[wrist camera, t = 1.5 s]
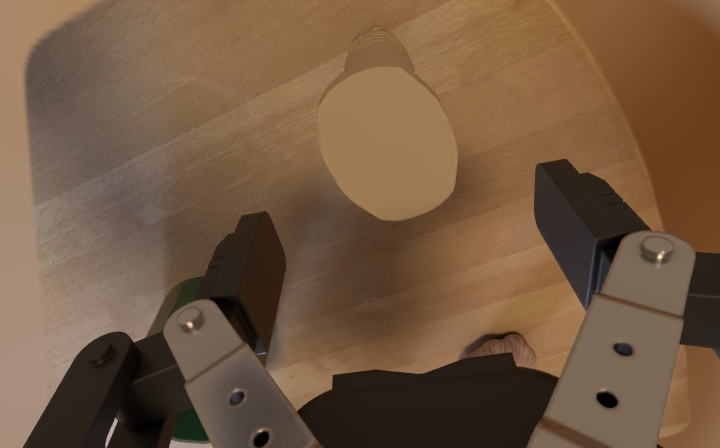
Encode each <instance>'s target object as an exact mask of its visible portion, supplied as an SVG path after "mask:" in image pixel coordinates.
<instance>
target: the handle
mask: <svg viewBox="0 0 720 448" xmlns="http://www.w3.org/2000/svg"><path fill="white" fill-rule="evenodd" d="M317 116H318V131H319V141H320V148H321V152H322V156H323V159H324V161H325V163H326V165H327V167H328V169H329V170H330V172H331V174H332V175H333V177H334V179H335V180H336V182H337V183H338V185H339V187H340V188H341V189H342V191H343V192H344V193H345V195H346V196H347V197H348V198H349V199H351V200H352V201H353V202H354V203H355V204H357V205H358V206H360V207H362V208H363V209H365V210H366V211H368V212H369V213H371V214H372V215H374V216H376V217H377V218H379V219H380V220H388V221H399V220H405V219H410V218H413V217H416V216H419V215H422V214H424V213H426V212H428V211H430V210H432V209H434V208H435V207H437V206H438V205H440V204H441V203H443V202H444V201H445V200H446V199H447V198H448V197H449V196H450V194H451V193H452V192H453V191H454V188H455V181H456V174H457V165H458V147H457V143H456V139H455V136H454V133H453V131H452V128H451V126H450V123H449V121H448V119H447V116H446V114H445V111H444V109H443V106H442V104H441V102H440V100H439V98H438V96H437V94H436V93H435V92H434V91H433V90H432V89H431V88H430V87H429V86H428V85H427V84H426V83H425V82H424V81H423V80H422V79H421V78H420V77H418V76H417V75H416V74H415V72H414V67H413V64H412V61H411V59H410V57H409V55H408V53H407V51H406V49H405V47H404V46H403V44H402V43H401V42H400V41H399V40H398V39H397V37H395V36H394V35H393V34H391V33H389V32H387V31H383V30H382V29H381V27H380V26H373V27H372V28H371V29H370V30H369V31H368V32H365V33H364V34H358V35H357V36H356V37H355V39H354V41H353V44H352V46H351V48H350V50H349V52H348V55H347V58H346V63H345V71H344V72H343V73H342V74H340V75H339V76H338V77H337V78H336V79H335V80H333V81H332V82H331V83H330V84H329V86H328V87H327V89H326V90H325V92H324V93H323V95H322V97H321V99H320V101H319V104H318V108H317Z"/></svg>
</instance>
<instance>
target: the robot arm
mask: <svg viewBox="0 0 720 448" xmlns="http://www.w3.org/2000/svg"><path fill="white" fill-rule="evenodd" d="M534 215H535V221H536V224H537V227H538V229H539V231H540V233H541V235H542V236H543V238H544V240H545V241H546V243H547V245H548V247H549V248H550V250H551V252H552V254H553V255H554V257H555V259H556V260H557V262H558V264H559V266H560V267H561V269H562V271H563V272H564V274H565V276H566V278H567V279H568V281H569V283H570V285H571V286H572V288H573V290H574V291H575V293H576V295H577V297H578V298H579V300H580V302H581V304H582V305H583V307H584V309H585V310H586V311H587V313H586V315H585V318H584V320H583V322H582V325H581V327H580V330H579V332H578V334H577V337H576V339H575V342H574V344H573V346H572V349H571V351H570V354H569V356H568V358H567V361H566V363H565V366H564V368H563V370H562V373H561V375H560V378H558V377H556V376H553V375H551V374H549V373H546V372H543V371H540V370H536V369H532V368H527V367H521V366H516V363H515V360H514V357H513V355H512V352H508V353H500V354H492V355H485V356H477V357H469V358H464V359H462V360H459V361H456V362H454V363H451V364H448V365H446V366H443V367H440V368H438V369H435V370H432V371H429V372H427V373H423V374H413V373H403V372H394V371H384V370H368V371H361V372H353V373H345V374H337V375H333V384H332V390H329V391H327V392H325V393H323V394H321V395H319V396H317V397H315V398H314V399H312V400H311V401H309V402H308V403H307V404H305V405H304V406H303V407H302V408H300V409H299V410H298V411H297V412H296V410H295V409H294V407H293V406H292V405H291V403H290V402H289V400H288V399H287V398H286V396H285V395H284V394H283V392H282V391H281V389H280V388H279V387H278V385H277V384H276V382H275V381H274V380H273V378H272V377H271V376H270V374H269V373H268V371H267V370H266V369H265V367H264V366H263V365H262V363H261V362H260V360H259V359H258V358H257V356H256V355H260V354H268V352H269V347H270V342H271V337H272V333H273V328H274V323H275V318H276V313H277V308H278V304H279V299H280V294H281V289H282V284H283V280H284V275H285V270H286V259H285V254H284V250H283V247H282V245H281V242H280V240H279V237H278V235H277V232H276V230H275V227H274V225H273V222H272V220H271V217H270V215H269V214H268V213H267V212H266V211H264V212H259V213H253V214H248V215H243V216H241V218H240V220H239V223H238V225H237V228H236V230H235V233H231V234H228V235H227V236H226V237H225V238H224V239H223V240H222V241H221V242H220V243H219V244H218V245H217V248H216V250H215V252H214V255H213V257H212V258H213V260H211V262H210V264H209V266H208V270H207V271H206V273H205V275H204V278H203V280H202V282H201V285H200V287H199V289H198V292H197V294H196V296H195V299H194V301H192V302H190V303H187V304H185V305H183V306H182V307H180V308H179V309H177V310H176V311H175V312H174V313H173V314H172V315H171V316H170V317H169V318H168V320H167V321H166V323H165V325H164V329H163V331H162V332H159V333H157V334H154V335H152V336H149V337H147V338H144V339H142V340H139V341H137V342H133V341H132V339H131V338H130V337H129V336H128V335H127V334H126V333H124V332H112V333H108V334H105V335H103V336H101V337H99V338H97V339H95V340H93V341H92V342H91V343H89V344H88V345H87V346H86V347H84V348H83V349H82V350H81V351H80V352H79V354H78V355H77V356H76V358H75V359H74V361H73V362H72V364H71V366H70V368H69V369H68V371H67V373H66V374H65V376H64V378H63V380H62V381H61V383H60V385H59V386H58V388H57V390H56V392H55V393H54V395H53V397H52V398H51V400H50V402H49V404H48V405H47V407H46V409H45V410H44V412H43V414H42V416H41V417H40V419H39V421H38V422H37V424H36V426H35V427H34V429H33V431H32V433H31V435H30V436H29V438H28V440H27V441H26V443H25V445H24V446H23V448H105V443H106V438H107V436H108V433H109V431H110V428H111V426H112V424H113V422H114V419H115V418H116V419H117V420H118V422H117V425H116V427H115V429H114V432H113V434H112V437H111V439H110V441H109V444H108V446H107V448H169V445H170V442H171V438H172V435H173V432H174V428H175V425H176V422H177V419H178V415H179V413H180V412H183V411H185V410H187V409H189V408H192V407H194V408H195V410H196V413H197V415H198V417H199V419H200V421H201V423H202V425H203V427H204V429H205V432H206V434H207V436H208V438H209V440H210V442H211V444H212V446H213V448H663V447H661V446H660V445H659V444H657V442H658V438H659V433H660V429H661V424H662V420H663V415H664V410H665V406H666V401H667V397H668V392H669V388H670V383H671V379H672V374H673V369H674V365H675V360H676V356H677V351H678V347H679V344H682V345H691V346H699V347H707V348H712V349H713V350H714V351H715V353H716V354H717V356H718V357H719V358H720V254H714V253H700V252H695V251H694V249H693V248H692V246H691V245H690V244H688V243H687V242H686V241H685V240H683V239H681V238H679V237H677V236H675V235H672V234H669V233H665V232H660V231H652V230H651V229H650V228H649V227H648V226H647V225H646V224H645V223H644V222H643V221H642V219H641V218H640V217H639V216H638V215H637V214H636V213H635V212H634V211H633V210H632V209H631V208H630V207H629V206H628V205H627V204H626V202H623V199H622V198H621V197H620V196H619V195H618V194H617V193H615V191H614V190H613V189H612V188H611V187H610V185H609V184H608V183H607V182H606V181H605V180H603V179H601V178H599V177H597V176H594V175H592V174H590V173H582V174H579V173H578V171H577V170H576V169H575V168H574V167H573V166H572V164H571V163H570V162H569V161H568V160H567V159H562V160H556V161H550V162H545V163H539V164H537V166H536V170H535V195H534Z"/></svg>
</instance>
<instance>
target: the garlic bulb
mask: <svg viewBox="0 0 720 448" xmlns="http://www.w3.org/2000/svg"><path fill="white" fill-rule="evenodd" d="M508 352H512V355H513V357H514V360H515V363H516V366H521V367H527V368H532V369H535V367H536V355H535V353H534V351H533V349H532V348H531V347H530V346H529V345H528V344H527V342H526V340H525V339H524V338H523V337H522V336H520V335H517V334H509V335H507V336H506V337H505V338H504V339H502V340H498V339H492V340H488V341H486V342H485V343H484V344H482V346H481V347H480V348H478V349H476V350H474V351H473V352H471V353H469V354H467V355H466V356H465V357H464V358H469V357H477V356H485V355H492V354H500V353H508Z"/></svg>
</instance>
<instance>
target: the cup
mask: <svg viewBox="0 0 720 448" xmlns="http://www.w3.org/2000/svg"><path fill="white" fill-rule="evenodd" d="M203 278H204V277H199V278H193V279H189V280H187V281H184V282H182V283H180V284H178V285H177V286H175V287H174V288H172V289H171V290H170V291H169V293H168V294H167V296H166V297H165V299H164V302H163V303H162V305H161V307H160V309H159V311H158V313H157V315H156V317H155V319H154V321H153V323H152V325H151V327H150V329H149V331H148V333H147V335H146V337H145V338H147V337H149V336H152V335H154V334H157V333H159V332H162V331H163V329H164V325H165V323H166V321H167V320H168V318H169V317H170V316H171V315H172V314H173V313H174V312H175V311H176V310H177V309H179V308H180V307H182V306H183V305H185V304H187V303H190V302H192V301H194V299H195V296H196V294H197V292H198V289H199V287H200V285H201V282H202V280H203ZM274 324H275V323H274ZM273 329H274V328H273ZM272 337H273V333H272ZM272 337H271V342H272ZM271 342H270V347H271ZM270 347H269V352H268V354H260V355H256V356H257V358H258V359H259V360H260V362H261V363H262V365H263V366H264V367H265V369H266V368H267V363H268V358H269V353H270ZM171 440H174V441H179V442H187V443H198V444H207V443H211V442H210V440H209V438H208V436H207V434H206V432H205V429H204V427H203V425H202V423H201V421H200V419H199V417H198V415H197V413H196V410H195V408H194V407H192V408H189V409H187V410H185V411H183V412H180V413H179V415H178V419H177V422H176V425H175V428H174V432H173V435H172V438H171Z"/></svg>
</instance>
